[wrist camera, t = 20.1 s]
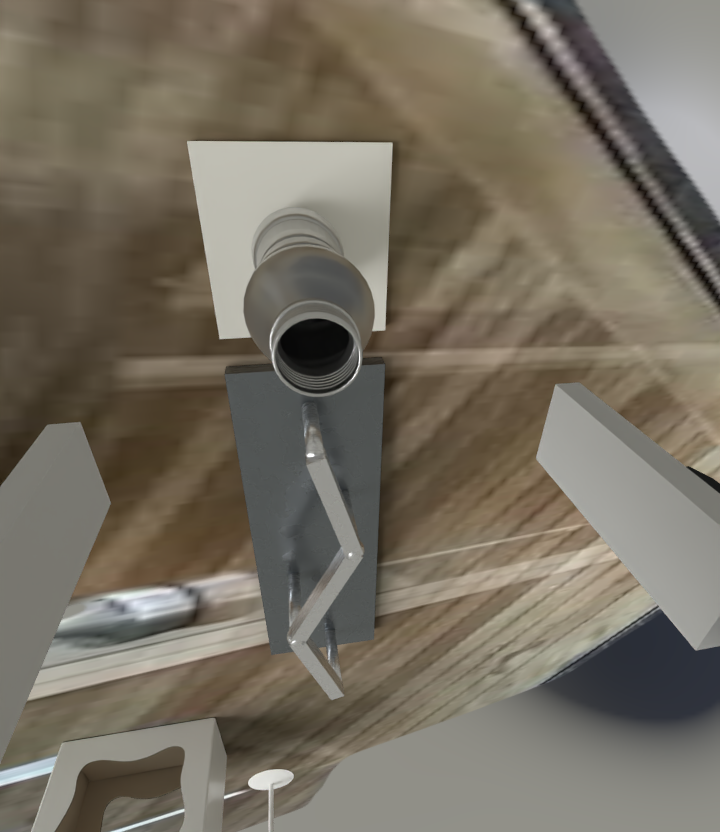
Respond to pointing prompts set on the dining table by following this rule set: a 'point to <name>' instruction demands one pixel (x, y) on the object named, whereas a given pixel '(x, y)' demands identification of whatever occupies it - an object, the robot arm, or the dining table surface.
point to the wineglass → (271, 786)
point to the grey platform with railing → (312, 508)
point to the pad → (289, 187)
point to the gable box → (137, 776)
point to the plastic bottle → (307, 303)
